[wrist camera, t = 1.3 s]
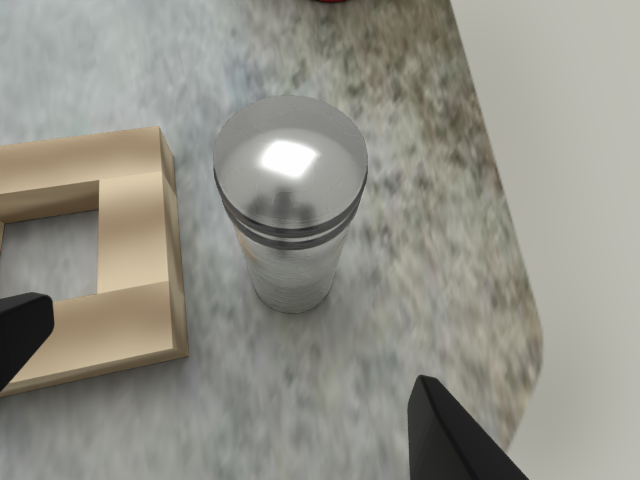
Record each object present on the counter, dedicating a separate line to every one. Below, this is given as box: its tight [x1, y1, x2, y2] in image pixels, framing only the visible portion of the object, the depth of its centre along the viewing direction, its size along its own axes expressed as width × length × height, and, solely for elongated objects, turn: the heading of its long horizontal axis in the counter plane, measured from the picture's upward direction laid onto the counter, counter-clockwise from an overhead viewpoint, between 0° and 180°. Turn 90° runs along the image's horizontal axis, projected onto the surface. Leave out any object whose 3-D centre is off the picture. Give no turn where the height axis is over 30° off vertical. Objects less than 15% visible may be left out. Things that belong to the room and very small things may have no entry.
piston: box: [213, 95, 368, 314], centre depth 17 cm, size 5×5×12 cm
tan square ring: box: [0, 126, 189, 397], centre depth 21 cm, size 14×14×3 cm
